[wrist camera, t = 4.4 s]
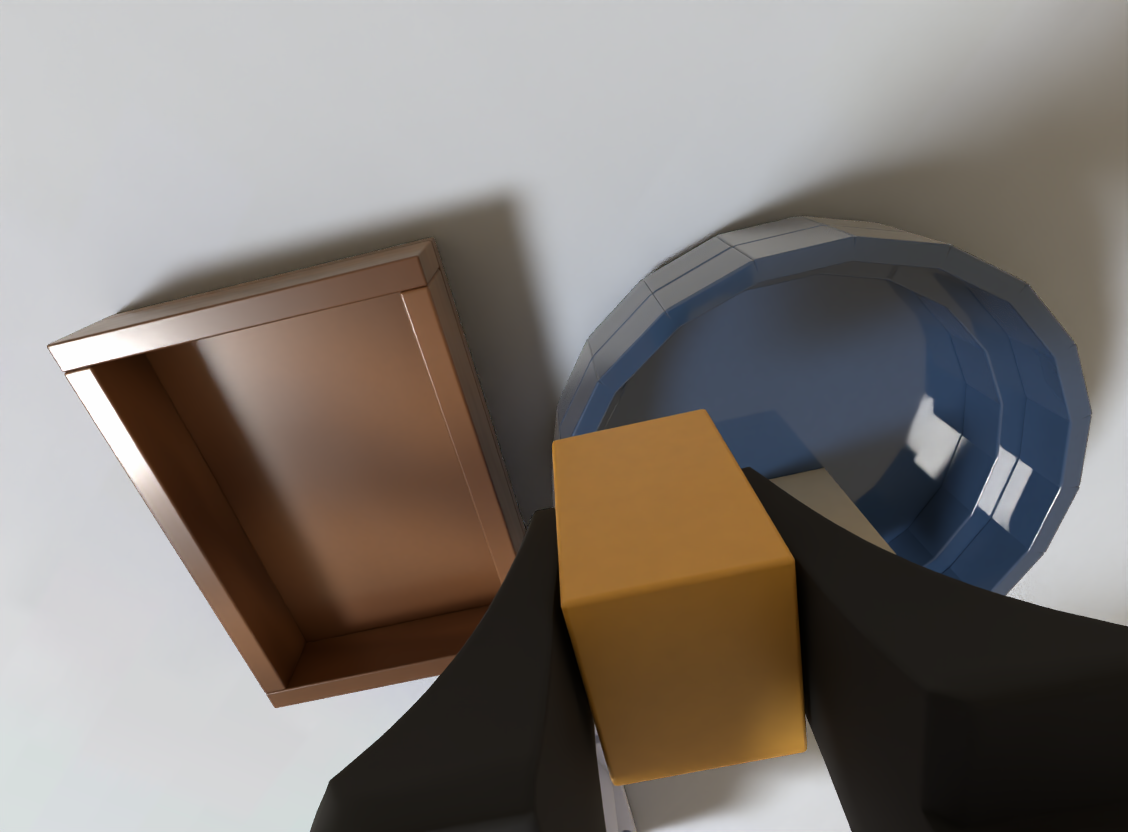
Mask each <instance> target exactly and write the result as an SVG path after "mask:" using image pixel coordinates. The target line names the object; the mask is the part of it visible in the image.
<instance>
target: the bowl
mask: <svg viewBox="0 0 1128 832" xmlns="http://www.w3.org/2000/svg"><path fill="white" fill-rule="evenodd" d="M700 409H705V410H706V411H707V413H708V414H709V416H710V418H711V419H712V421H713V423H714V424H715V426H716V428H717V429H718V431H719V433H720V435H721V436H722V438H723V440H724V441H725V443H726V445H727V446H728V448H729V450H730V451H731V453H732V455H733V456H734V458H735V460H736V461H737V463H738V465H739V466H740V468H746V467H751V468H753V469H754V470H755V471H757V472H758V473H760V474H761V475H763V476H764V477H766V478H767V479H768V480H769V479H774V478H778V477H783V476H788V475H792V474H797V473H802V472H806V471H811V470H816V469H820V468H825V470H826V471H827V472H828V473H829V474H830V476H831V477H832V478H833V479H834V480H835V482H836V483H837V484H838V485H839V486H840V488H841V489H842V490H843V491H844V492H845V494H846V495H847V496H848V497H849V498H850V500H851V501H852V502H853V503H854V504H855V506H856V507H857V508H858V509H859V510H860V512H861V513H862V514H863V515H864V516H865V518H866V519H867V520H868V521H869V522H870V524H871V525H872V526H873V527H874V528H875V530H876V531H877V532H878V533H879V534H880V536H881V537H882V538H883V539H884V540H885V542H886V543H887V544H888V545H889V546H890V548H891V549H892V550H893V551H894V552H895V554H896V555H898V556H900V557H902V558H904V559H907V560H909V561H911V562H913V563H916V564H918V565H920V566H923V567H925V568H928V569H930V570H933V571H935V572H938V573H941V574H943V575H946V576H949V577H951V578H954V579H957V580H960V581H962V582H965V583H968V584H971V585H973V586H976V587H979V588H982V589H986V590H989V591H992V592H995V593H998V594H1001V595H1004V596H1006V595H1007V594H1008V593H1009V591H1010V590H1011V589H1012V588H1013V587H1014V586H1015V585H1016V584H1017V583H1018V582H1019V581H1020V579H1021V578H1022V577H1023V576H1024V575H1025V574H1026V573H1027V572H1028V571H1029V570H1030V569H1031V568H1032V566H1033V565H1034V564H1035V563H1036V562H1037V561H1038V560H1039V559H1040V558H1041V557H1042V556H1043V554H1044V552H1046V551H1047V549H1048V547H1049V545H1050V543H1051V541H1052V539H1053V537H1054V535H1055V533H1056V532H1057V530H1058V528H1059V526H1060V524H1061V522H1062V520H1063V518H1064V516H1065V514H1066V513H1067V511H1068V509H1069V507H1070V505H1071V503H1072V501H1073V499H1074V497H1075V495H1076V494H1077V492H1078V490H1079V485H1080V482H1081V476H1082V471H1083V465H1084V459H1085V453H1086V447H1087V441H1088V435H1089V429H1090V423H1091V417H1092V416H1091V414H1092V410H1091V406H1090V402H1089V397H1088V393H1087V389H1086V384H1085V380H1084V376H1083V371H1082V367H1081V363H1080V358H1079V354H1078V350H1077V345H1076V344H1075V342H1074V340H1073V339H1072V338H1071V337H1070V335H1069V334H1068V333H1067V332H1066V330H1065V329H1064V328H1063V327H1062V325H1061V324H1060V323H1059V322H1058V320H1057V319H1056V318H1055V317H1054V315H1053V314H1052V313H1051V312H1050V310H1049V309H1048V308H1047V307H1046V305H1045V304H1044V303H1043V301H1042V300H1041V299H1040V298H1039V296H1038V295H1037V294H1036V293H1035V291H1034V290H1033V289H1032V288H1031V286H1030V285H1029V284H1027V283H1026V282H1025V281H1023V280H1021V279H1019V278H1017V277H1015V276H1013V275H1011V274H1009V273H1007V272H1005V271H1003V270H1001V269H999V268H997V267H995V266H993V265H991V264H989V263H987V262H985V261H983V260H982V259H980V258H978V257H976V256H974V255H972V254H970V253H968V252H966V251H964V250H962V249H960V248H958V247H956V246H954V245H951V244H947V243H944V242H941V241H937V240H934V239H931V238H927V237H924V236H921V235H917V234H914V233H911V232H908V231H904V230H901V229H898V228H894V227H891V226H888V225H884V224H880V223H876V222H865V221H854V220H843V219H832V218H821V217H810V216H795V217H790V218H786V219H782V220H778V221H774V222H769V223H765V224H761V225H757V226H753V227H748V228H744V229H740V230H736V231H732V232H727V233H723V234H719V235H717V236H716V237H713V238H711V239H709V240H708V241H706V242H704V243H703V244H701V245H699V246H698V247H696V248H694V249H692V250H691V251H689V252H687V253H686V254H684V255H682V256H681V257H679V258H677V259H675V260H674V261H672V262H670V263H669V264H667V265H665V266H664V267H662V268H660V269H658V270H657V271H655V272H653V273H652V274H650V275H648V276H647V277H645V278H644V280H641V281H640V282H639V283H638V284H637V285H636V286H635V287H634V288H633V289H632V290H631V291H630V293H629V294H628V295H627V296H626V297H625V298H624V299H623V300H622V301H621V302H620V303H619V305H618V306H617V307H616V308H615V309H614V310H613V311H612V312H611V313H610V314H609V315H608V317H607V318H606V319H605V320H604V321H603V322H602V323H601V324H600V325H599V326H598V327H597V328H596V330H595V331H594V332H593V333H592V334H591V335H590V336H589V339H587V341H586V343H585V345H584V347H583V349H582V351H581V354H580V356H579V358H578V360H577V362H576V364H575V367H574V369H573V371H572V373H571V375H570V377H569V380H568V382H567V384H566V386H565V388H564V390H563V393H562V395H561V397H560V399H559V401H558V406H557V411H556V422H555V432H554V441H555V440H559V439H564V438H569V437H573V436H578V435H583V434H587V433H592V432H597V431H601V430H606V429H611V428H615V427H620V426H625V425H630V424H634V423H639V422H644V421H648V420H653V419H658V418H662V417H667V416H672V415H676V414H681V413H686V412H690V411H695V410H700ZM551 473H552V493H553V507H555V491H554V473H553V455H552V464H551Z"/></svg>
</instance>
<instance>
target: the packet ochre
mask: <svg viewBox="0 0 1128 832" xmlns="http://www.w3.org/2000/svg"><path fill="white" fill-rule="evenodd" d="M552 455H553V473H554V491H555V509H556V527H557V545H558V563H559V581H560V599H561V608H562V612H563V615H564V619H565V622H566V626H567V629H568V633H569V636H570V639H571V643H572V646H573V650H574V653H575V657H576V660H577V664H578V667H579V671H580V674H581V678H582V681H583V685H584V688H585V692H586V695H587V699H588V702H589V705H590V709H591V712H592V716H593V719H594V723H595V726H596V730H597V733H598V737H599V740H600V744H601V747H602V751H603V754H604V758H605V761H606V764H607V768H608V771H609V775H610V778H611V781H612V783H613V784H614V785H615V786H621V785H627V784H632V783H638V782H643V781H649V780H654V779H660V778H665V777H671V776H676V775H681V774H687V773H692V772H698V771H703V770H709V769H714V768H720V767H725V766H731V765H736V764H742V763H747V762H753V761H758V760H764V759H769V758H775V757H780V756H786V755H791V754H797V753H802V752H805V751H806V750H807V735H806V720H805V705H804V689H803V674H802V659H801V644H800V629H799V614H798V599H797V584H796V569H795V559H794V557H793V556H792V554H791V552H790V551H789V549H788V547H787V546H786V544H785V542H784V540H783V539H782V537H781V535H780V534H779V532H778V530H777V529H776V527H775V525H774V524H773V522H772V520H771V519H770V517H769V515H768V514H767V512H766V510H765V509H764V507H763V505H762V503H761V502H760V500H759V498H758V497H757V495H756V493H755V492H754V490H753V488H752V487H751V485H750V483H749V482H748V480H747V478H746V477H745V475H744V473H743V472H742V470H741V468H740V466H739V465H738V463H737V461H736V460H735V458H734V456H733V455H732V453H731V451H730V450H729V448H728V446H727V445H726V443H725V441H724V440H723V438H722V436H721V435H720V433H719V431H718V429H717V428H716V426H715V424H714V423H713V421H712V419H711V418H710V416H709V414H708V413H707V411H706V410H705V409H700V410H695V411H690V412H686V413H681V414H676V415H672V416H667V417H662V418H658V419H653V420H648V421H644V422H639V423H634V424H630V425H625V426H620V427H615V428H611V429H606V430H601V431H597V432H592V433H587V434H583V435H578V436H573V437H569V438H564V439H559V440H555V441H553V443H552Z"/></svg>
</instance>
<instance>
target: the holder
mask: <svg viewBox="0 0 1128 832" xmlns="http://www.w3.org/2000/svg"><path fill="white" fill-rule="evenodd" d="M47 348H48V349H49V351H50V353H51V354H52V356H53V357H54V359H55V360H56V362H57V364H58V365H59V367H60V368H61V370H62V371H63V372H66V373H65V376H66V378H67V379H68V381H69V383H70V384H71V386H72V387H73V389H74V391H75V392H76V394H77V395H78V397H79V399H80V400H81V402H82V403H83V405H84V406H85V408H86V410H87V411H88V413H89V414H90V416H91V418H92V419H93V421H94V422H95V424H96V425H97V427H98V429H99V430H100V432H101V433H102V435H103V437H104V438H105V440H106V441H107V443H108V444H109V446H110V448H111V449H112V451H113V452H114V454H115V456H116V457H117V459H118V460H119V462H120V464H121V465H122V467H123V468H124V470H125V471H126V473H127V475H128V476H129V478H130V479H131V481H132V483H133V484H134V486H135V487H136V489H137V490H138V492H139V494H140V495H141V497H142V498H143V500H144V502H145V503H146V505H147V506H148V508H149V509H150V511H151V513H152V514H153V516H154V517H155V519H156V521H157V522H158V524H159V525H160V527H161V528H162V530H163V532H164V533H165V535H166V536H167V538H168V540H169V541H170V543H171V544H172V546H173V548H174V549H175V551H176V552H177V554H178V555H179V557H180V559H181V560H182V562H183V563H184V565H185V567H186V568H187V570H188V571H189V573H190V574H191V576H192V578H193V579H194V581H195V582H196V584H197V586H198V587H199V589H200V590H201V592H202V593H203V595H204V597H205V598H206V600H207V601H208V603H209V605H210V606H211V608H212V609H213V611H214V613H215V614H216V616H217V617H218V619H219V620H220V622H221V624H222V625H223V627H224V628H225V630H226V632H227V633H228V635H229V636H230V638H231V639H232V641H233V643H234V644H235V646H236V647H237V649H238V651H239V652H240V654H241V655H242V657H243V658H244V660H245V662H246V663H247V665H248V666H249V668H250V670H251V671H252V673H253V674H254V676H255V678H256V679H257V681H258V682H259V684H260V685H261V687H262V689H263V690H264V692H265V693H266V695H267V696H268V698H269V700H270V701H271V703H272V704H273V706H274V707H275V708H279V707H284V706H289V705H294V704H299V703H304V702H309V701H314V700H319V699H324V698H329V697H333V696H338V695H343V694H348V693H353V692H358V691H363V690H368V689H373V688H378V687H383V686H388V685H393V684H398V683H403V682H408V681H413V680H418V679H423V678H428V677H433V676H438V675H441V674H442V672H443V671H444V670H445V669H446V668H447V666H448V665H449V664H450V663H451V661H452V660H453V659H454V658H455V656H456V655H457V654H458V652H459V651H460V650H461V648H462V647H463V646H464V644H465V643H466V641H467V640H468V639H469V637H470V636H471V634H472V633H473V631H474V630H475V628H476V627H477V625H478V624H479V622H480V621H481V619H482V618H483V616H484V614H485V613H486V611H487V609H488V608H489V606H490V604H491V602H492V601H493V599H494V597H495V595H496V594H497V592H498V590H499V588H500V587H501V585H502V583H503V581H504V579H505V577H506V575H507V573H508V571H509V569H510V567H511V565H512V563H513V561H514V559H515V557H516V555H517V552H518V550H519V548H520V546H521V543H522V541H523V539H524V536H525V534H526V530H525V527H524V523H523V520H522V517H521V514H520V511H519V507H518V504H517V501H516V498H515V495H514V491H513V488H512V485H511V482H510V479H509V475H508V472H507V469H506V466H505V463H504V459H503V456H502V453H501V450H500V446H499V443H498V440H497V437H496V434H495V430H494V427H493V424H492V421H491V418H490V414H489V411H488V408H487V405H486V402H485V398H484V395H483V392H482V389H481V386H480V382H479V379H478V376H477V373H476V370H475V366H474V363H473V360H472V357H471V354H470V350H469V347H468V344H467V341H466V338H465V334H464V331H463V328H462V325H461V322H460V318H459V315H458V312H457V309H456V305H455V302H454V299H453V296H452V293H451V289H450V286H449V283H448V280H447V277H446V273H445V270H444V267H443V264H442V261H441V257H440V254H439V251H438V248H437V245H436V241H435V239H434V237H430V238H426V239H421V240H417V241H413V242H409V243H405V244H401V245H397V246H393V247H389V248H385V249H381V250H376V251H372V252H368V253H364V254H360V255H356V256H352V257H348V258H344V259H340V260H335V261H331V262H327V263H323V264H319V265H315V266H311V267H307V268H303V269H299V270H295V271H290V272H286V273H282V274H278V275H274V276H270V277H266V278H262V279H258V280H254V281H249V282H245V283H241V284H237V285H233V286H229V287H225V288H221V289H217V290H213V291H208V292H204V293H200V294H196V295H192V296H188V297H184V298H180V299H176V300H172V301H168V302H163V303H159V304H155V305H151V306H147V307H143V308H139V309H135V310H131V311H127V312H122V313H118V314H114V315H111V316H109V317H107V318H105V319H102V320H101V321H98V322H96V323H94V324H91V325H89V326H87V327H85V328H83V329H81V330H78V331H76V332H74V333H72V334H70V335H68V336H66V337H63V338H61V339H59V340H57V341H55V342H53V343H50V344H49V345H47Z"/></svg>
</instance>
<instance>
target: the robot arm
mask: <svg viewBox="0 0 1128 832" xmlns="http://www.w3.org/2000/svg"><path fill="white" fill-rule="evenodd" d="M741 470H742V472H743V473H744V475H745V477H746V478H747V480H748V482H749V483H750V485H751V487H752V488H753V490H754V492H755V493H756V495H757V497H758V498H759V500H760V502H761V503H762V505H763V507H764V509H765V510H766V512H767V514H768V515H769V517H770V519H771V520H772V522H773V524H774V525H775V527H776V529H777V530H778V532H779V534H780V535H781V537H782V539H783V540H784V542H785V544H786V546H787V547H788V549H789V551H790V552H791V554H792V556H793V557H794V559H795V569H796V584H797V599H798V614H799V629H800V644H801V659H802V674H803V689H804V705H805V714H806V717H807V719H808V722H809V724H810V727H811V729H812V732H813V734H814V736H815V739H816V741H817V744H818V746H819V749H820V751H821V754H822V756H823V759H824V761H825V764H826V766H827V769H828V771H829V774H830V777H831V779H832V782H833V784H834V787H835V790H836V792H837V795H838V797H839V800H840V802H841V805H842V808H843V810H844V813H845V815H846V818H847V820H848V823H849V826H850V828H851V831H852V832H1128V626H1123V625H1119V624H1114V623H1110V622H1106V621H1101V620H1097V619H1093V618H1088V617H1084V616H1079V615H1075V614H1071V613H1066V612H1062V611H1058V610H1054V609H1050V608H1046V607H1042V606H1039V605H1035V604H1032V603H1029V602H1025V601H1022V600H1018V599H1015V598H1011V597H1008V596H1004V595H1001V594H998V593H995V592H992V591H989V590H986V589H982V588H979V587H976V586H973V585H971V584H968V583H965V582H962V581H960V580H957V579H954V578H951V577H949V576H946V575H943V574H941V573H938V572H935V571H933V570H930V569H928V568H925V567H923V566H920V565H918V564H916V563H913V562H911V561H909V560H907V559H904V558H902V557H900V556H898V555H896V554H893V553H891V552H889V551H887V550H885V549H882V548H880V547H878V546H876V545H874V544H872V543H870V542H868V541H866V540H864V539H862V538H861V537H859V536H857V535H855V534H853V533H852V532H850V531H848V530H846V529H844V528H842V527H841V526H839V525H837V524H835V523H834V522H832V521H830V520H829V519H827V518H825V517H824V516H822V515H821V514H819V513H817V512H816V511H814V510H813V509H811V508H809V507H808V506H806V505H805V504H803V503H802V502H800V501H799V500H797V499H796V498H794V497H793V496H791V495H790V494H788V493H787V492H786V491H784V490H783V489H781V488H780V487H778V486H777V485H776V484H774V483H773V482H771V481H770V480H768V479H767V478H766V477H764V476H763V475H761V474H760V473H758V472H757V471H755V470H754V469H753V468H751V467H746V468H741ZM310 832H637V830H636V827H635V824H634V820H633V817H632V813H631V810H630V806H629V803H628V800H627V796H626V793H625V789H624V786H623V785H621V786H615V785H614V784H613V783H612V781H611V778H610V775H609V771H608V768H607V764H606V761H605V758H604V754H603V751H602V747H601V744H600V740H599V737H598V733H597V730H596V726H595V723H594V719H593V716H592V712H591V709H590V705H589V702H588V699H587V695H586V692H585V688H584V685H583V681H582V678H581V674H580V671H579V667H578V664H577V660H576V657H575V653H574V650H573V646H572V643H571V639H570V636H569V633H568V629H567V626H566V622H565V619H564V615H563V612H562V608H561V599H560V581H559V563H558V545H557V527H556V509H555V507H553V508H548V509H543V510H539V511H536V512H535V513H534V515H533V516H532V518H531V521H530V524H529V526H528V529H527V531H526V534H525V536H524V539H523V541H522V543H521V546H520V548H519V550H518V552H517V555H516V557H515V559H514V561H513V563H512V565H511V567H510V569H509V571H508V573H507V575H506V577H505V579H504V581H503V583H502V585H501V587H500V588H499V590H498V592H497V594H496V595H495V597H494V599H493V601H492V602H491V604H490V606H489V608H488V609H487V611H486V613H485V614H484V616H483V618H482V619H481V621H480V622H479V624H478V625H477V627H476V628H475V630H474V631H473V633H472V634H471V636H470V637H469V639H468V640H467V641H466V643H465V644H464V646H463V647H462V648H461V650H460V651H459V652H458V654H457V655H456V656H455V658H454V659H453V660H452V661H451V663H450V664H449V665H448V666H447V668H446V669H445V670H444V671H443V672H442V674H441V675H440V676H439V677H438V678H437V680H436V681H435V682H434V683H433V684H432V685H431V687H430V688H429V689H428V690H427V691H426V692H425V693H424V694H423V695H422V697H421V698H420V699H419V700H418V701H417V702H416V703H415V704H414V705H413V706H412V707H411V708H410V709H409V710H408V711H407V712H406V713H405V714H404V715H403V716H402V717H401V718H400V719H399V720H398V721H397V722H396V723H395V724H394V725H393V726H392V727H391V728H390V729H389V730H388V731H387V732H385V733H384V734H383V735H382V736H381V737H380V738H379V739H378V740H377V741H376V742H374V743H373V744H372V745H371V746H370V747H369V748H367V749H366V750H365V751H364V752H363V753H362V754H361V755H359V756H358V757H357V758H356V759H355V760H354V761H352V762H351V763H350V764H349V765H348V766H347V767H345V768H344V769H343V770H342V771H341V772H340V773H338V774H337V775H336V776H335V777H333V778H332V779H331V780H330V781H329V784H328V786H327V789H326V792H325V794H324V796H323V799H322V801H321V803H320V806H319V808H318V810H317V813H316V816H315V819H314V821H313V824H312V827H311V830H310Z"/></svg>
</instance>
